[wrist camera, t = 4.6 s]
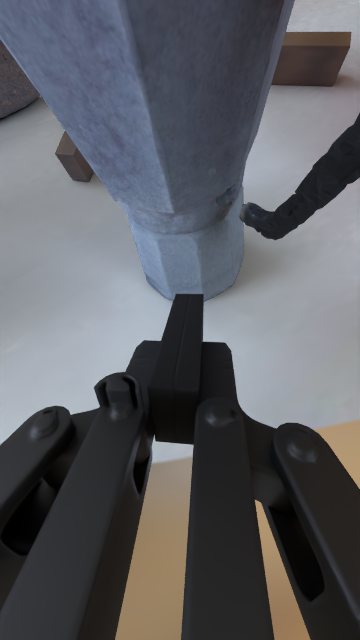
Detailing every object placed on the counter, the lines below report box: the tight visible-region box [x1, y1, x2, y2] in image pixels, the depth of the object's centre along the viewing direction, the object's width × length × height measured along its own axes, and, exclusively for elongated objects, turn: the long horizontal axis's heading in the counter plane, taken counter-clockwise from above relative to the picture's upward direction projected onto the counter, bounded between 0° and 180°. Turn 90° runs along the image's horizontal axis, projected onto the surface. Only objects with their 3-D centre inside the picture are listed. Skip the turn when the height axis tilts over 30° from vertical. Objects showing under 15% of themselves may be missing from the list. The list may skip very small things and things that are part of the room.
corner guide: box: [55, 32, 351, 182], centre depth 23 cm, size 26×17×3 cm, turn 77°
